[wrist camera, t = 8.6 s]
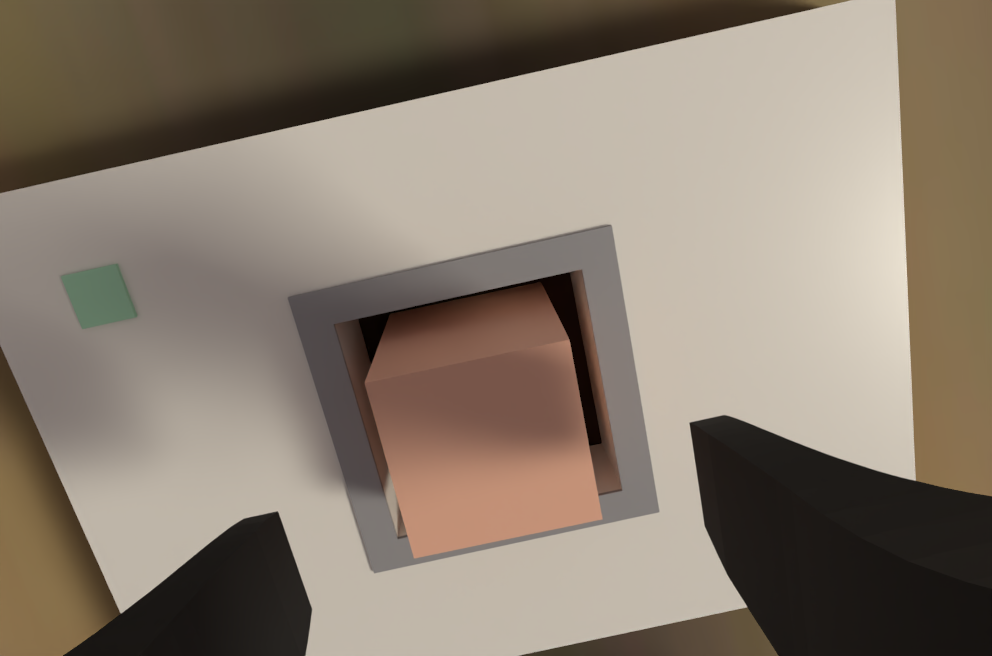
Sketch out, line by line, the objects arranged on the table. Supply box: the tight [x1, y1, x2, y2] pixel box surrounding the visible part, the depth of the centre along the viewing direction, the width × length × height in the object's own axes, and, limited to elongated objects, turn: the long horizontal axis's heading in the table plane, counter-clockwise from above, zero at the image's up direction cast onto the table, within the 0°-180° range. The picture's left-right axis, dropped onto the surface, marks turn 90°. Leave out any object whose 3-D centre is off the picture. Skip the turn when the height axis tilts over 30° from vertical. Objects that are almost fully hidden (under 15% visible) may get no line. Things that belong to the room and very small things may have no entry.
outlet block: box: [0, 0, 916, 656], centre depth 17 cm, size 14×20×3 cm
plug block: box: [365, 282, 603, 559], centre depth 16 cm, size 4×4×5 cm
